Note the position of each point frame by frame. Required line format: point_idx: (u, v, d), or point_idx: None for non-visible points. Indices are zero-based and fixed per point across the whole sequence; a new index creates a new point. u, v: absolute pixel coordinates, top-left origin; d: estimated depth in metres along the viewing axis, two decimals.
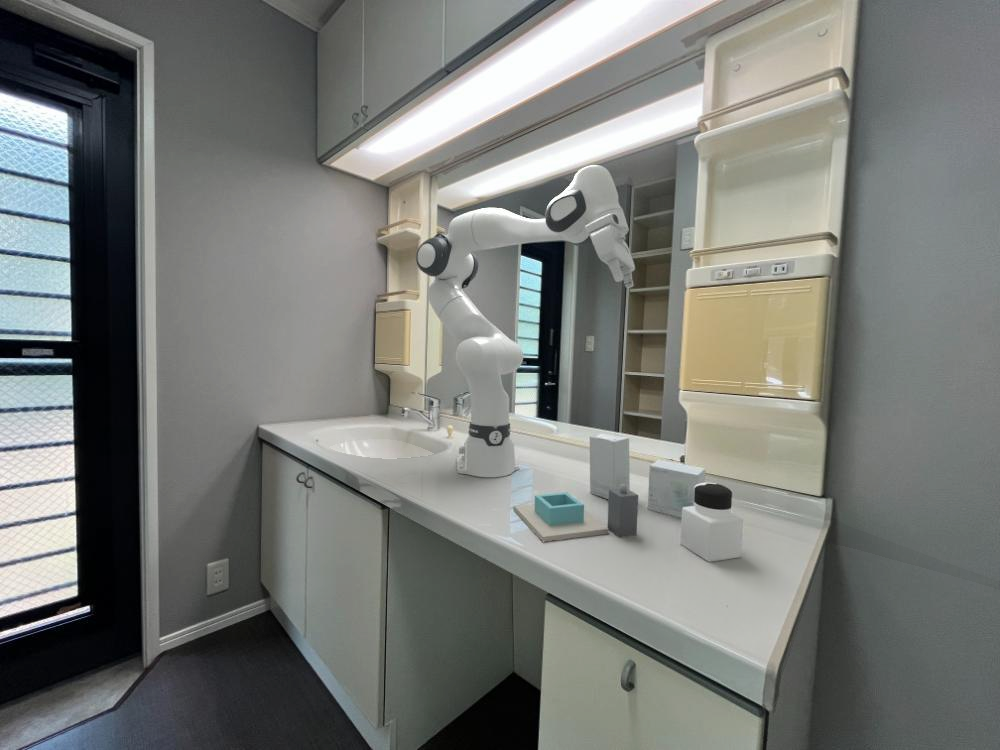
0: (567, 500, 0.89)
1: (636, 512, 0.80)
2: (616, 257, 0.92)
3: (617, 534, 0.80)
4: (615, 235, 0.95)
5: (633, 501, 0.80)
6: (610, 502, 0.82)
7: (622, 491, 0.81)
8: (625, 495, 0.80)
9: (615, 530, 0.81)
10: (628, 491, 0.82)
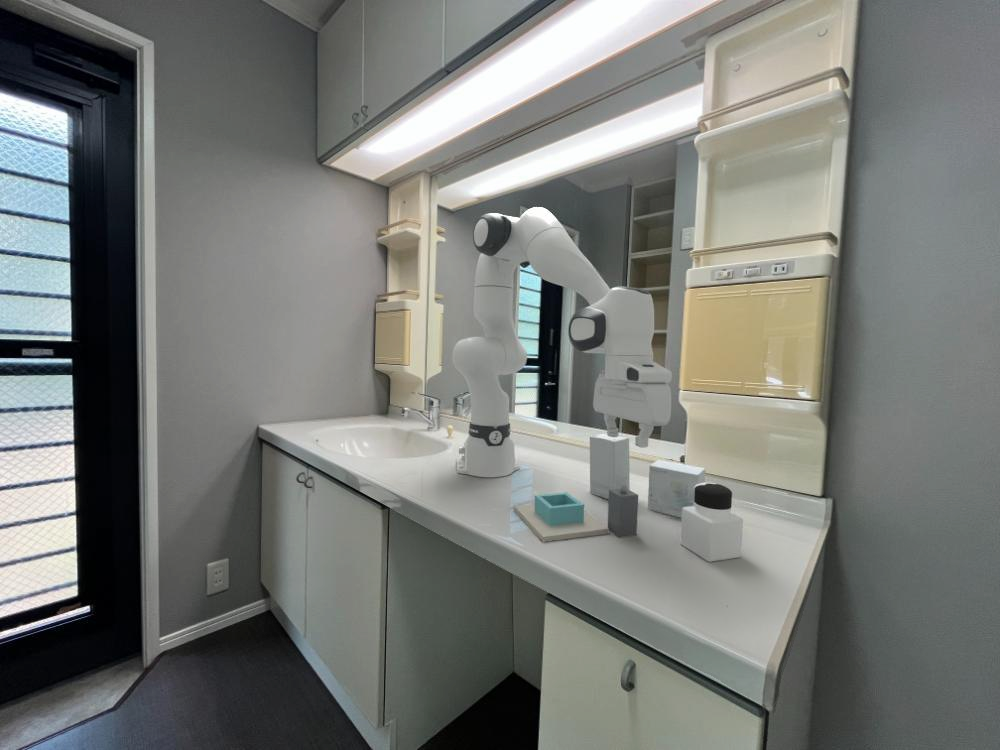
0: (567, 500, 0.89)
1: (636, 512, 0.80)
2: None
3: (617, 534, 0.80)
4: None
5: (633, 501, 0.80)
6: (610, 502, 0.82)
7: (622, 491, 0.81)
8: (625, 495, 0.80)
9: (615, 530, 0.81)
10: (628, 491, 0.82)
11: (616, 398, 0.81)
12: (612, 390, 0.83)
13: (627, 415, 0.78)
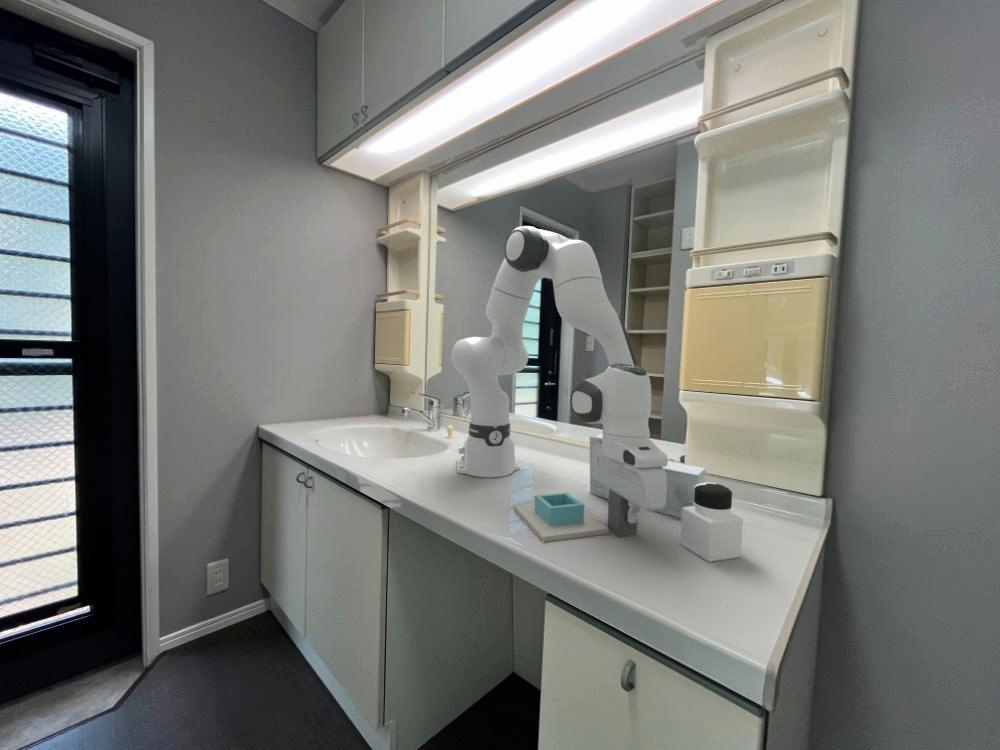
0: (567, 500, 0.89)
1: None
2: None
3: (617, 534, 0.80)
4: None
5: None
6: (610, 502, 0.82)
7: None
8: None
9: (615, 530, 0.81)
10: None
11: (613, 473, 0.82)
12: (609, 464, 0.84)
13: (623, 494, 0.78)
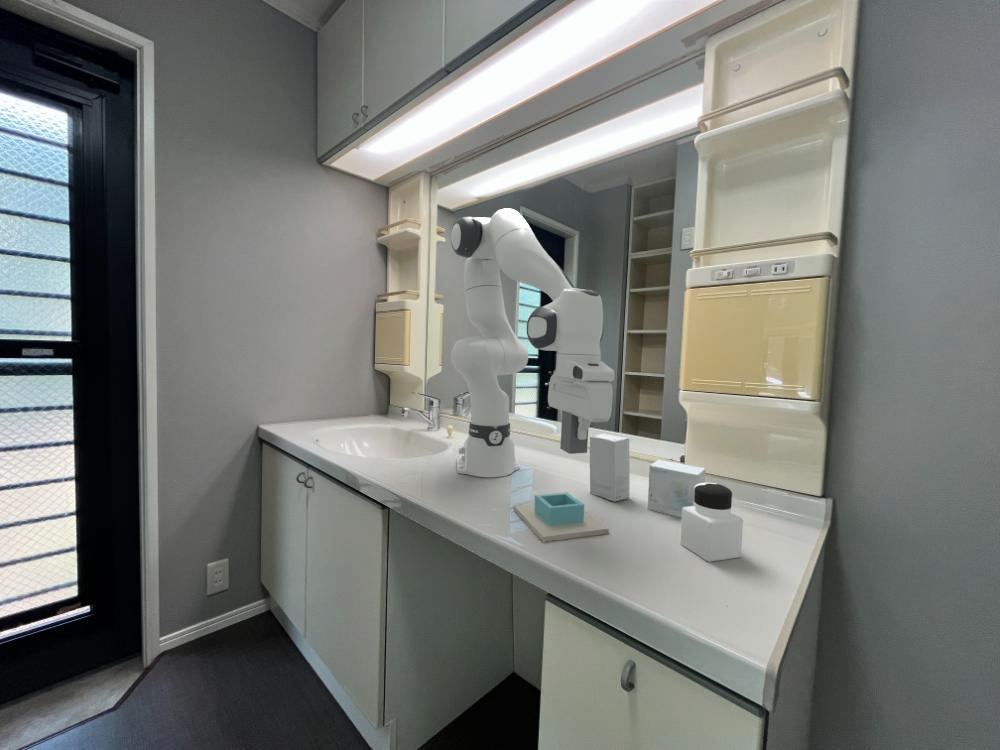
0: (567, 500, 0.89)
1: (587, 430, 0.84)
2: None
3: (568, 451, 0.83)
4: None
5: None
6: (563, 422, 0.85)
7: None
8: None
9: (566, 448, 0.84)
10: None
11: (566, 394, 0.85)
12: (563, 386, 0.87)
13: (574, 411, 0.82)
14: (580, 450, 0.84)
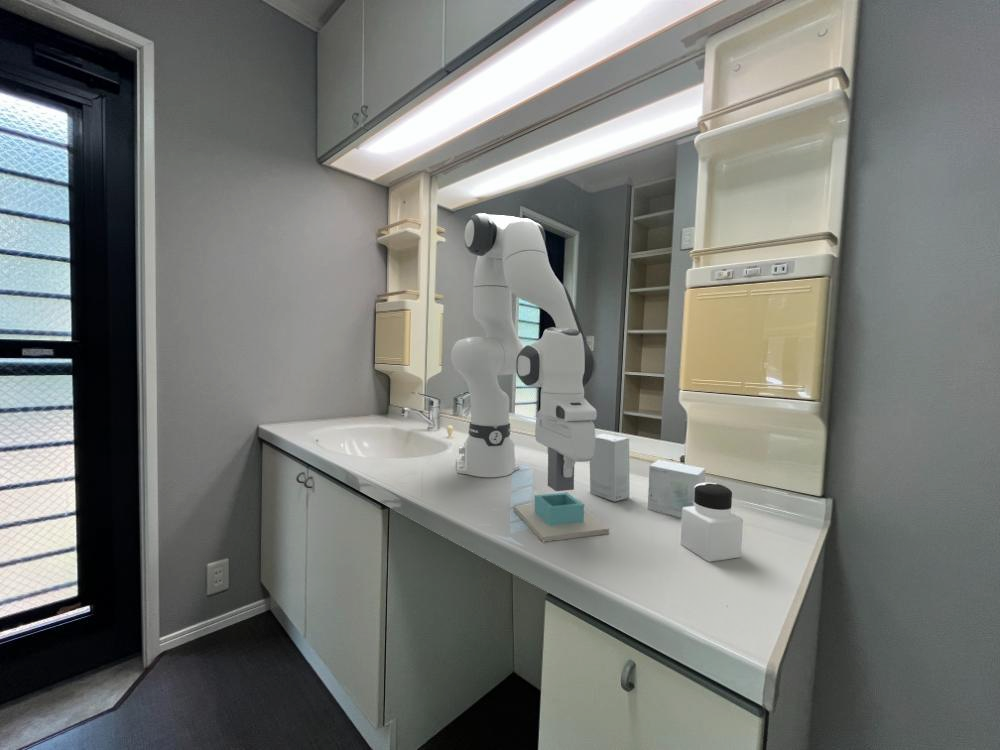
0: (567, 500, 0.89)
1: (573, 467, 0.84)
2: None
3: (554, 488, 0.84)
4: None
5: None
6: (549, 459, 0.86)
7: None
8: None
9: (553, 485, 0.85)
10: None
11: (551, 432, 0.86)
12: (548, 423, 0.88)
13: (559, 449, 0.82)
14: (567, 487, 0.84)
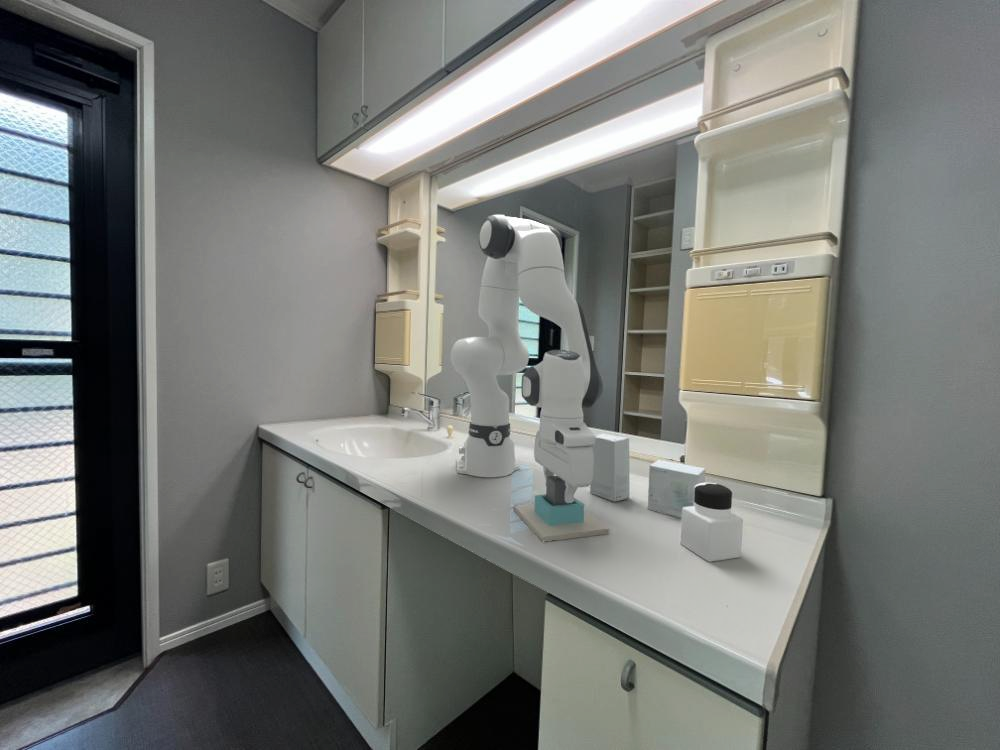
0: None
1: None
2: None
3: None
4: None
5: None
6: (547, 488, 0.87)
7: (558, 477, 0.86)
8: (559, 481, 0.84)
9: None
10: None
11: (550, 454, 0.86)
12: (547, 445, 0.88)
13: (557, 472, 0.83)
14: None
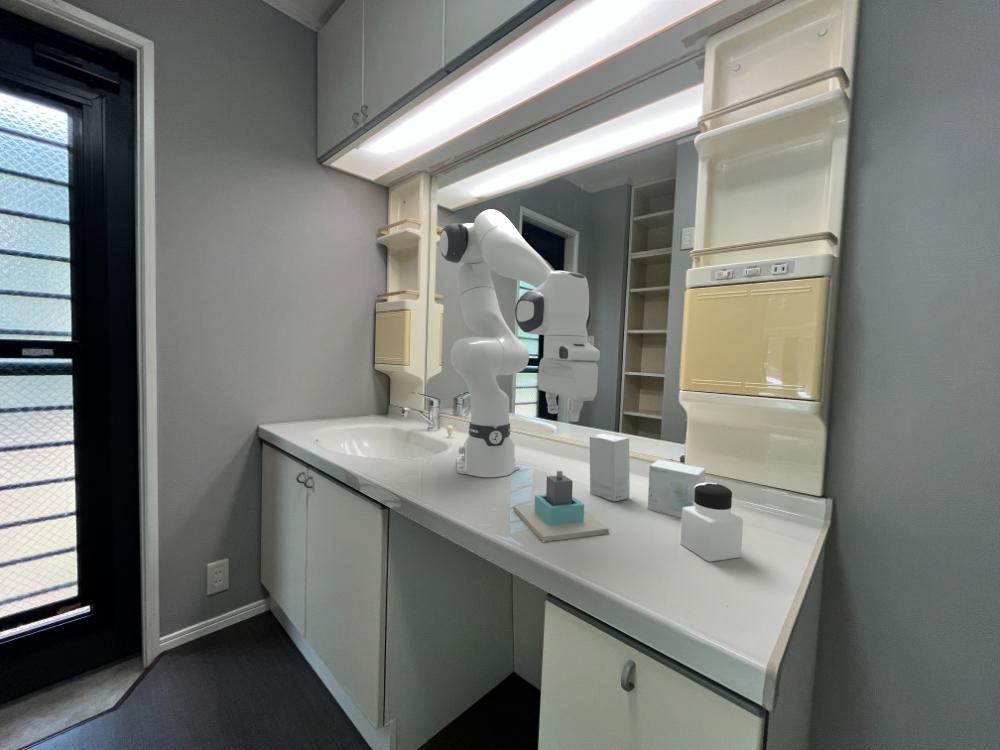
0: None
1: (570, 497, 0.85)
2: None
3: None
4: None
5: (567, 486, 0.85)
6: (547, 488, 0.87)
7: (558, 477, 0.86)
8: (559, 481, 0.84)
9: None
10: (564, 477, 0.87)
11: (554, 376, 0.86)
12: (551, 369, 0.88)
13: (561, 392, 0.83)
14: None
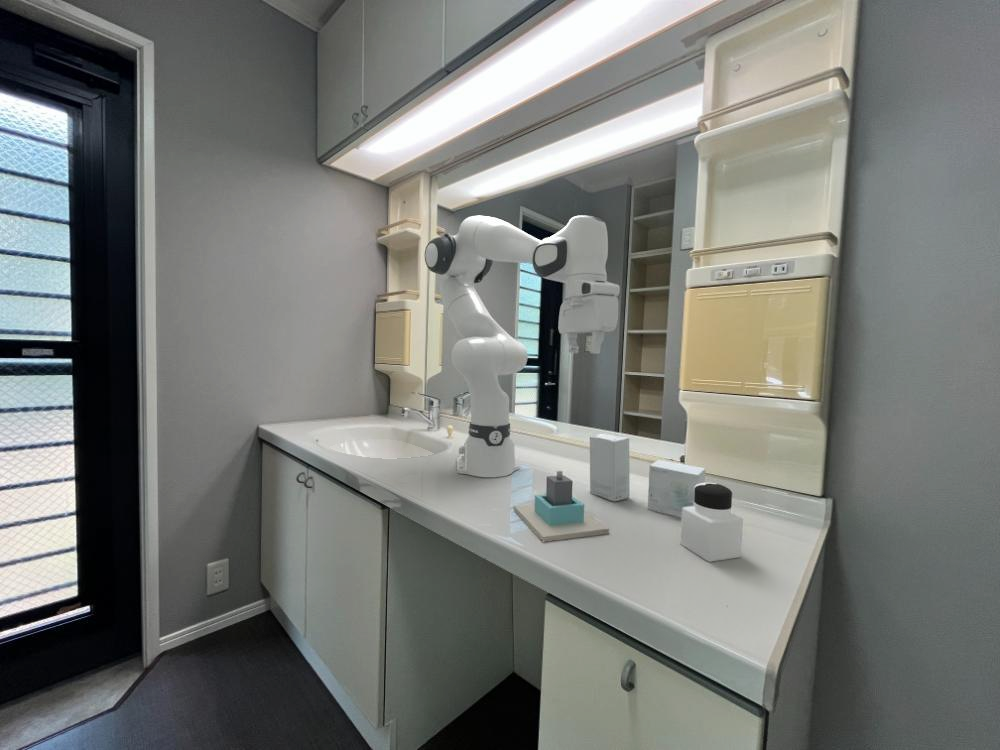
0: None
1: (570, 497, 0.85)
2: (606, 331, 0.86)
3: None
4: None
5: (567, 486, 0.85)
6: (547, 488, 0.87)
7: (558, 477, 0.86)
8: (559, 481, 0.84)
9: None
10: (564, 477, 0.87)
11: (575, 315, 0.93)
12: (572, 310, 0.94)
13: (583, 327, 0.89)
14: None
